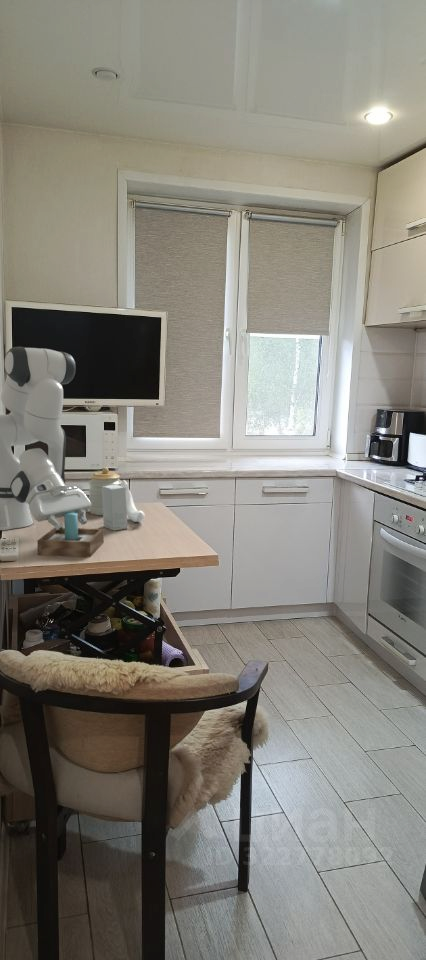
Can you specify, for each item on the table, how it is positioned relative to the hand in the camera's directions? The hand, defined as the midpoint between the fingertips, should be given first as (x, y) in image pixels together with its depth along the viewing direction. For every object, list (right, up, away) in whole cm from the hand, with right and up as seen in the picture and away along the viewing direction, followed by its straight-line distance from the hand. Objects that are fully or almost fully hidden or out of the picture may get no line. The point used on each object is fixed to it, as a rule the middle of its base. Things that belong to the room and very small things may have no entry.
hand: (72, 525), depth 198 cm
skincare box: (+9, -3, +29) cm, 30 cm away
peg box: (-1, -7, +2) cm, 7 cm away
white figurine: (+14, -1, +38) cm, 41 cm away
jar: (+1, +1, +53) cm, 53 cm away
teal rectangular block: (-1, -7, +2) cm, 7 cm away
